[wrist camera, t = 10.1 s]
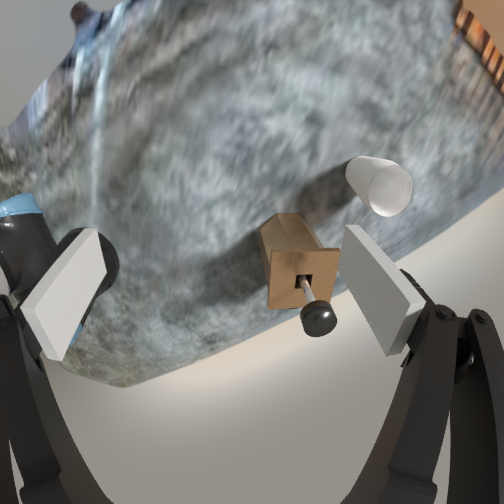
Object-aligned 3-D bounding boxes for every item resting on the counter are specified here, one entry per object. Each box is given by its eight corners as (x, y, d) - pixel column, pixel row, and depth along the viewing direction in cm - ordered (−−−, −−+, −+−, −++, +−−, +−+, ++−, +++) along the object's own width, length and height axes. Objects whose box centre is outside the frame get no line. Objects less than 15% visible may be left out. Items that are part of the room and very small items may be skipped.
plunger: (268, 266, 53) (288, 347, 36) (270, 229, 50) (295, 303, 32) (307, 265, 54) (341, 342, 36) (311, 229, 50) (354, 299, 33)
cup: (363, 202, 53) (392, 227, 43) (330, 178, 50) (356, 199, 40) (387, 166, 50) (422, 184, 39) (356, 140, 47) (388, 152, 37)
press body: (257, 272, 59) (266, 321, 46) (260, 213, 53) (272, 252, 40) (305, 270, 60) (326, 317, 47) (313, 213, 54) (340, 251, 41)
